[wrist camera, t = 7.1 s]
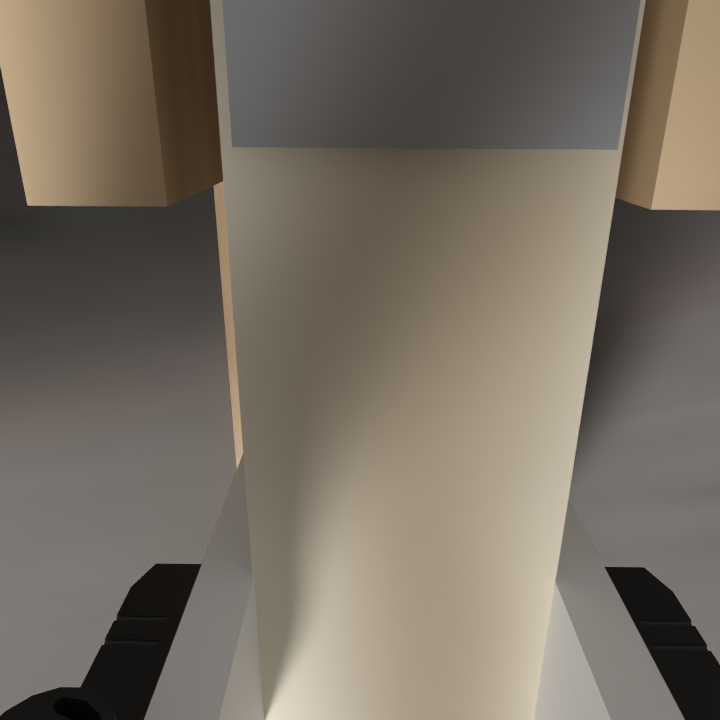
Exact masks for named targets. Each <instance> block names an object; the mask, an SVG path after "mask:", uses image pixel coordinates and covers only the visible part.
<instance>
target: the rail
mask: <svg viewBox="0 0 720 720" xmlns="http://www.w3.org/2000/svg"><path fill="white" fill-rule="evenodd" d="M645 1H646V0H210V8H211V22H212V35H213V49H214V63H215V76H216V90H217V103H218V117H219V130H220V144H221V158H222V171H223V185H224V198H225V212H226V226H227V239H228V253H229V266H230V280H231V294H232V307H233V321H234V334H235V348H236V362H237V375H238V389H239V402H240V416H241V429H242V443H243V457H244V470H245V484H246V497H247V511H248V525H249V538H250V552H251V565H252V576H254V583H255V597H256V611H257V624H258V638H259V652H260V665H261V679H262V693H263V706H264V720H534V714H535V707H536V701H537V694H538V688H539V681H540V675H541V668H542V661H543V655H544V648H545V642H546V635H547V629H548V622H549V616H550V609H551V603H552V596H553V590H554V583H555V581H556V575H557V569H558V562H559V556H560V549H561V543H562V537H563V530H564V524H565V517H566V511H567V504H568V498H569V491H570V485H571V479H572V472H573V466H574V459H575V453H576V446H577V440H578V433H579V427H580V420H581V414H582V408H583V401H584V395H585V388H586V382H587V375H588V369H589V362H590V356H591V349H592V343H593V337H594V330H595V324H596V317H597V311H598V304H599V298H600V291H601V285H602V279H603V272H604V266H605V259H606V253H607V246H608V240H609V233H610V227H611V220H612V214H613V208H614V201H615V195H616V188H617V182H618V175H619V169H620V162H621V156H622V149H623V143H624V137H625V130H626V124H627V117H628V111H629V104H630V98H631V91H632V85H633V79H634V72H635V66H636V59H637V53H638V46H639V40H640V33H641V27H642V20H643V14H644V8H645Z"/></svg>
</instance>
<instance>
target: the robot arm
mask: <svg viewBox="0 0 720 720" xmlns="http://www.w3.org/2000/svg"><path fill="white" fill-rule="evenodd" d="M0 720H264V706H263V693H262V679H261V665H260V652H259V638H258V624H257V611H256V597H255V583H254V576H252V565H251V552H250V538H249V525H248V511H247V497H246V484H245V470H244V457H243V455H242V457H241V460H240V463H239V465H238V468H237V471H236V473H235V476H234V479H233V482H232V484H231V487H230V490H229V492H228V495H227V498H226V500H225V503H224V506H223V508H222V511H221V514H220V516H219V519H218V522H217V525H216V527H215V530H214V533H213V535H212V538H211V541H210V543H209V546H208V549H207V551H206V554H205V557H204V559H203V562H202V564H155V565H154V566H153V567H152V568H151V569H150V570H149V571H148V572H147V573H146V574H145V575H144V576H142V577H141V578H140V579H139V580H138V581H137V582H136V583H135V584H134V585H133V586H132V587H131V588H130V590H129V592H128V594H127V596H126V598H125V600H124V602H123V604H122V606H121V608H120V610H119V612H118V614H117V620H116V621H114V622H113V624H112V626H111V628H110V630H109V632H108V634H107V636H106V638H105V644H104V645H102V646H101V648H100V650H99V652H98V654H97V656H96V658H95V660H94V662H93V664H92V666H91V668H90V670H89V672H88V674H87V676H86V678H85V680H84V681H83V683H82V685H81V687H80V688H73V687H60V688H56V689H53V690H50V691H46V692H43V693H40V694H36V695H33V696H31V697H29V698H28V699H26V700H24V701H22V702H21V703H19V704H17V705H16V706H14V707H12V708H10V709H9V710H7V711H5V712H4V713H3V714H2V715H1V716H0ZM534 720H720V665H719V663H718V661H717V660H716V658H715V657H714V655H713V654H712V652H711V651H708V650H707V644H706V643H705V641H704V640H703V638H702V637H701V635H700V633H699V632H698V630H697V629H696V627H695V626H692V625H691V619H690V618H689V616H688V615H687V613H686V612H685V610H684V609H683V607H682V605H681V604H680V602H679V601H678V599H677V598H676V596H675V595H674V593H673V592H672V591H671V590H670V589H669V588H668V587H666V586H665V585H664V584H663V583H662V582H661V581H659V580H658V579H657V578H656V577H655V576H653V575H652V574H651V573H650V572H649V571H647V570H646V569H645V568H640V567H604V565H603V563H602V561H601V559H600V558H599V556H598V554H597V552H596V550H595V548H594V546H593V544H592V542H591V540H590V539H589V537H588V535H587V533H586V531H585V529H584V527H583V525H582V523H581V521H580V520H579V518H578V516H577V514H576V512H575V510H574V508H573V506H572V504H571V502H570V501H569V499H568V504H567V511H566V517H565V524H564V530H563V537H562V543H561V549H560V556H559V562H558V569H557V575H556V581H555V583H554V590H553V596H552V603H551V609H550V616H549V622H548V629H547V635H546V642H545V648H544V655H543V661H542V668H541V675H540V681H539V688H538V694H537V701H536V707H535V714H534Z"/></svg>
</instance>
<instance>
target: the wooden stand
mask: <svg viewBox="0 0 720 720" xmlns="http://www.w3.org/2000/svg"><path fill="white" fill-rule="evenodd" d="M0 66H1V71H2V77H3V82H4V87H5V92H6V97H7V102H8V107H9V113H10V118H11V123H12V128H13V133H14V138H15V143H16V148H17V154H18V159H19V164H20V169H21V174H22V179H23V184H24V190H25V195H26V200H27V205H28V206H161V207H168V206H170V205H172V204H174V203H176V202H179V201H181V200H183V199H185V198H187V197H190V196H192V195H194V194H196V193H198V192H201V191H203V190H205V189H207V188H209V187H212V186H214V197H215V209H216V221H217V233H218V246H219V258H220V270H221V282H222V295H223V307H224V319H225V331H226V343H227V356H228V368H229V380H230V392H231V404H232V417H233V429H234V441H235V453H236V466H237V468H238V465H239V463H240V460H241V457H242V455H243V443H242V429H241V416H240V402H239V389H238V375H237V362H236V348H235V334H234V321H233V307H232V294H231V280H230V266H229V253H228V239H227V226H226V212H225V198H224V185H223V171H222V158H221V144H220V130H219V117H218V103H217V90H216V76H215V63H214V49H213V35H212V22H211V8H210V0H0ZM615 198H617V199H620V200H623V201H626V202H629V203H632V204H635V205H638V206H641V207H644V208H647V209H650V210H720V0H646V1H645V8H644V14H643V20H642V27H641V33H640V40H639V46H638V53H637V59H636V66H635V72H634V79H633V85H632V91H631V98H630V104H629V111H628V117H627V124H626V130H625V137H624V143H623V149H622V156H621V162H620V169H619V175H618V182H617V188H616V195H615Z"/></svg>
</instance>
